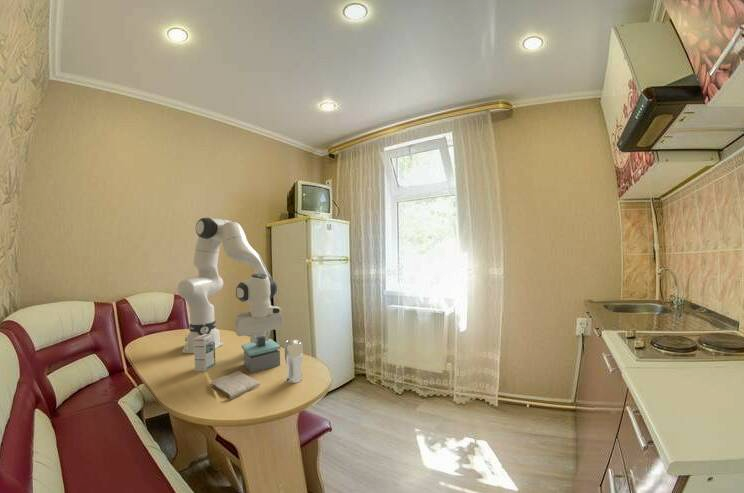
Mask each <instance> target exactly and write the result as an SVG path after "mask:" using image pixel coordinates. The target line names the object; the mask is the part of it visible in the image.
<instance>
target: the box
mask: <svg viewBox="0 0 744 493" xmlns="http://www.w3.org/2000/svg"><path fill="white" fill-rule="evenodd" d="M243 364H244V366H245V367H246V369H248V371H249V372H250V373H251V374H255V373H257V372H261V371H265V370H267V369H268V370H269V369H271V368H272V369H273V368H274V367H275V368H276V367H279V366H281V352H280V349H277V350H275V351H274V352H270V353H266V354H262V355H258V356H254V357H252V356H249V355H248V354H247V353H246V352H245V351H244V350H243Z"/></svg>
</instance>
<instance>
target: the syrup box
mask: <svg viewBox="0 0 744 493" xmlns="http://www.w3.org/2000/svg"><path fill="white" fill-rule="evenodd" d="M193 354H194V371H196V372H208V370H209V369H211V368H212V367H214V366H216V349H215V339H214V335H213V334H204V335H202V336H199V337H196V338H194V353H193Z"/></svg>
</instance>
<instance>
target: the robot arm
mask: <svg viewBox="0 0 744 493" xmlns="http://www.w3.org/2000/svg"><path fill="white" fill-rule="evenodd" d="M195 233H196V234H197V236H198V238H197V241H196V245H195V250H194V255H193V265H194V266H195V267H196V268H197V271H198V275H197V276H196V275H195V276H190V277H187V278H185V279H183V280H181V281H180V282H179V283H178V285H177V288H176V289H177V294H178V295H179V296H180V298H182V299H184V300H185V301H186V303H187V305H188V309H189V318H190V319H189V320H190V322H189V333H188V334H187V335H186V336H185V338H184V342H186V343H185V344H184V347H183V348H182V352H181V354H194V338H196V337H199V336H202V335H204V334H213V335H214V339H215V350H216V349H218V348H219V347H221V346H223V345H224V342H223V341H220V340H221V339H220V331H219V329H217V328H216V327H217V326H216V325H217V322H216V320H215V306H214V305H213V304H212V303H210V301H209V299H208V296H211V295H213V294H215V293H218V292H219V291H221V290H222V289H223V287H224V280H223V278H222V277H221V276H220V273H219V269H218V263H219V255H220V247H221V243H222V247H223V250H224V253H225V255H226V256H227V257H228V258H230V259H231V260H234V261H236V262H241V263H244V264H247V265H249V266H250V267H252V269H253V270H254V272H255V273H254V274H251V275H249V276H250V277H249V278H248V279H246V280H243V281H241V282H239V283H238V284H237V286H236V288H235V296H236V298H237V300H239V301H241V302H242V303H243V302H244V303H247V302H248V303H249V305H248V306H249V312H244V313H239V314H238V315H236V316H235V317H234V323H235V335H236V336H238V337H243V336H249V335H250V336H252V338H253V342H254V343H258V339H257V338H255V337H254V336H255V333H259V332H264V331H266V336H264V337H265V341H268V339H269V337H270V335H271V331H274V330H280V329H283V328H284V326H285V319H284V315H283V313H282V311H283V309H282V308H281V307H280V306H277V305H271V304H272V302H271V299H273V298H274V297H275V295H276V294H277V291H278V286H277V282H276V281H275V280H274V279H273V277H272V276H271V274H270V273H269V271H268V269H267V266H266V264H265V263H264V260H263V258H262V257H261V254H259V252H258V251H256V250H255V249H254V248H253V247H252V246H251V244H250V243H249V241H248V238H247V236H246V233H245V231H244V229H243V226H242V224H241V223H239V222H237V221H235V220H229V219H224V218H212V217H211V218H210V217H202V218H200V219H198V220H197V222H196V224H195Z"/></svg>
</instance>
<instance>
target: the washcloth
mask: <svg viewBox="0 0 744 493" xmlns="http://www.w3.org/2000/svg"><path fill="white" fill-rule="evenodd" d="M260 385H261V383H260V382H259V381H258V380H256V379H254V378H253V377H251V376H249V375H247V374H245V373H243V372H241V371H240V370H239V371H238V370H237V371H234V372H232V373H230V374H227V375H224V376H220V377H218V378H215V379H213V380H211V381H210V384H209V386H210V387H211V389H212V390H213V391H215V392H217V390H219V391H220V392H222V393H223V394H225V395H226V397H225V398H226V399H227V400H234V399H235V398H238V397H240V396H241V395H244V394H246V393H249V392H252V391H254V390H256V389H258V388H259V387H260Z"/></svg>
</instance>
